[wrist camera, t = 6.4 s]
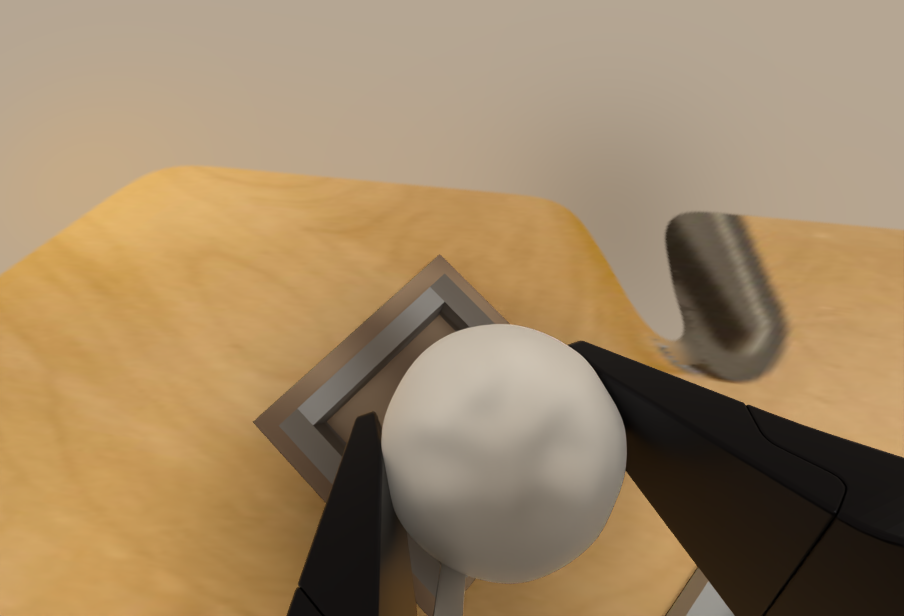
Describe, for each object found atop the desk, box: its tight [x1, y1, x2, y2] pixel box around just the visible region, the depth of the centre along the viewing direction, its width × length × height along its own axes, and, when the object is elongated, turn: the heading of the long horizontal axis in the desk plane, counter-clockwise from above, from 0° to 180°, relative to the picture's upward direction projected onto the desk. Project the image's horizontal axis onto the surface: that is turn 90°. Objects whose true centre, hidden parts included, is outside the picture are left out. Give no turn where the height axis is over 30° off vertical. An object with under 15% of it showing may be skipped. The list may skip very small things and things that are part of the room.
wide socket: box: [253, 255, 509, 616], centre depth 20 cm, size 13×13×4 cm
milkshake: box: [381, 324, 627, 616], centre depth 10 cm, size 5×5×10 cm
